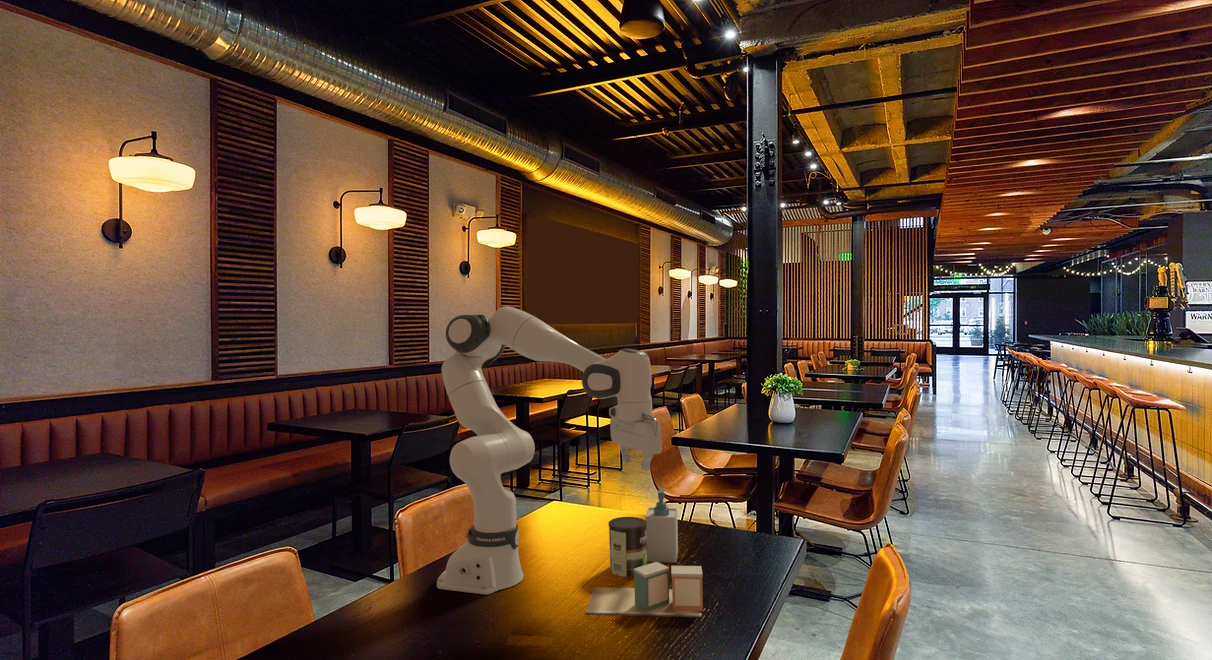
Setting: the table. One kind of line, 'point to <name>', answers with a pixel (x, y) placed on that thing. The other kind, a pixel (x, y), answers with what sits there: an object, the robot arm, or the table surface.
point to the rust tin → (687, 588)
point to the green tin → (651, 586)
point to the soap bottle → (661, 532)
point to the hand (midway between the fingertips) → (635, 465)
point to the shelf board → (629, 604)
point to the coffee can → (627, 545)
